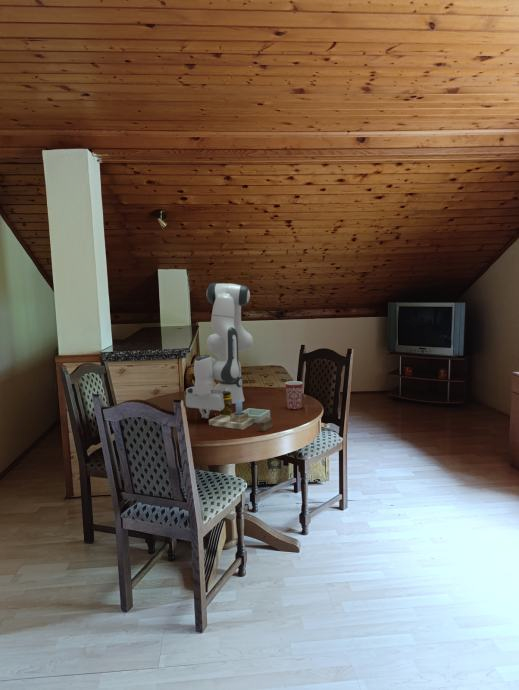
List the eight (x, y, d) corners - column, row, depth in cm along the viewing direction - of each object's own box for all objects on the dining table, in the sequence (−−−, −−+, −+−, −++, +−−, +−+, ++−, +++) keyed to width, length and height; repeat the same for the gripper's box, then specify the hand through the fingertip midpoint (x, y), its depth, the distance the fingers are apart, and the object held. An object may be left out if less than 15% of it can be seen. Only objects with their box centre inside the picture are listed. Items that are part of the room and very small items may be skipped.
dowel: (235, 420, 210) (234, 401, 209) (238, 419, 213) (237, 400, 212) (240, 421, 209) (240, 402, 208) (243, 419, 211) (243, 400, 210)
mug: (303, 410, 235) (303, 384, 233) (285, 410, 236) (285, 384, 234) (302, 404, 248) (302, 379, 246) (285, 404, 248) (285, 379, 246)
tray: (237, 421, 218) (237, 413, 218) (249, 415, 228) (249, 408, 228) (259, 423, 213) (259, 416, 212) (270, 417, 223) (270, 410, 223)
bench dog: (258, 430, 202) (258, 422, 202) (266, 425, 209) (266, 417, 209) (264, 431, 201) (264, 422, 200) (272, 426, 208) (272, 418, 207)
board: (209, 425, 213) (208, 413, 212) (220, 419, 222) (220, 408, 221) (242, 429, 205) (242, 417, 204) (253, 423, 213) (253, 412, 213)
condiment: (234, 416, 226) (233, 393, 225) (217, 418, 224) (216, 394, 223) (231, 413, 233) (230, 390, 232) (215, 414, 231) (214, 391, 230)
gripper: (226, 389, 216) (227, 418, 217) (190, 386, 225) (192, 414, 227) (219, 392, 210) (220, 421, 212) (183, 389, 219) (184, 417, 221)
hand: (205, 417), depth 219 cm, fingers closed
